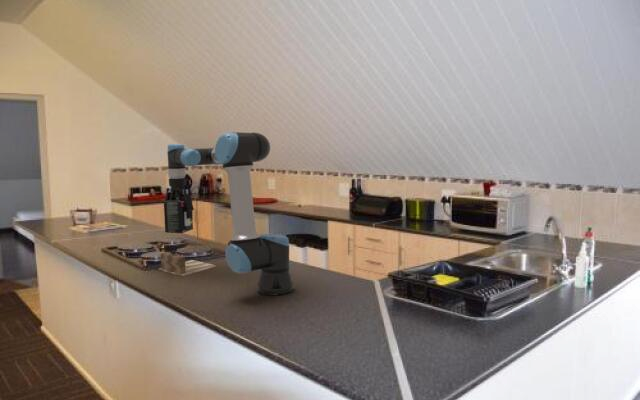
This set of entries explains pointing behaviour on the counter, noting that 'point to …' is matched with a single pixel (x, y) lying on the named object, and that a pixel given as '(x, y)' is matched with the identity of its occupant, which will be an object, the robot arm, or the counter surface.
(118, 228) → the counter surface
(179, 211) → the tampon box
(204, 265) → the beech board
